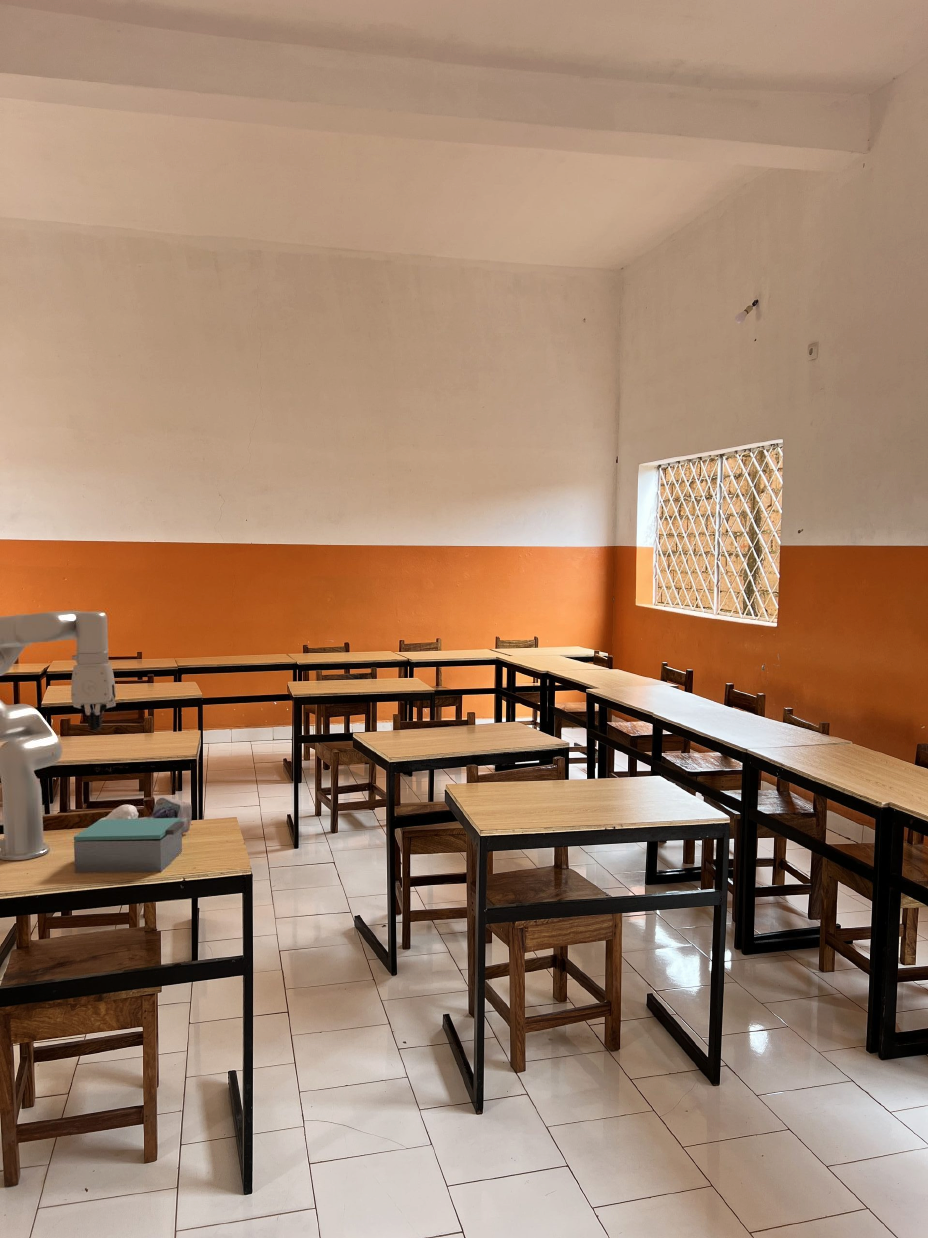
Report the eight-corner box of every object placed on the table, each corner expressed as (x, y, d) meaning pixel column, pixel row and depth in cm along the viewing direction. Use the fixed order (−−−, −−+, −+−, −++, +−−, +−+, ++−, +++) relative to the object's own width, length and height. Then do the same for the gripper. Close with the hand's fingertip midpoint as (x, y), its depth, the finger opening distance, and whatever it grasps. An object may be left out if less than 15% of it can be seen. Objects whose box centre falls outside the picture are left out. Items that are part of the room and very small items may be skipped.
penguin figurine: (128, 807, 259) (89, 810, 260) (132, 836, 259) (93, 839, 260) (139, 801, 265) (100, 805, 266) (142, 830, 265) (104, 833, 267)
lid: (73, 841, 228) (73, 836, 228) (100, 823, 244) (100, 819, 244) (168, 839, 228) (168, 834, 228) (188, 821, 244) (188, 817, 244)
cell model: (196, 796, 262) (145, 815, 244) (198, 833, 263) (146, 854, 245) (162, 792, 267) (109, 810, 249) (164, 828, 268) (111, 848, 250)
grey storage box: (74, 872, 229) (73, 841, 228) (101, 853, 245) (100, 824, 244) (161, 872, 228) (160, 840, 228) (182, 852, 244) (181, 823, 244)
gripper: (57, 661, 230) (60, 732, 231) (115, 660, 230) (118, 732, 231) (70, 658, 238) (73, 727, 239) (127, 657, 237) (129, 727, 238)
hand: (95, 729), depth 235 cm, fingers closed
